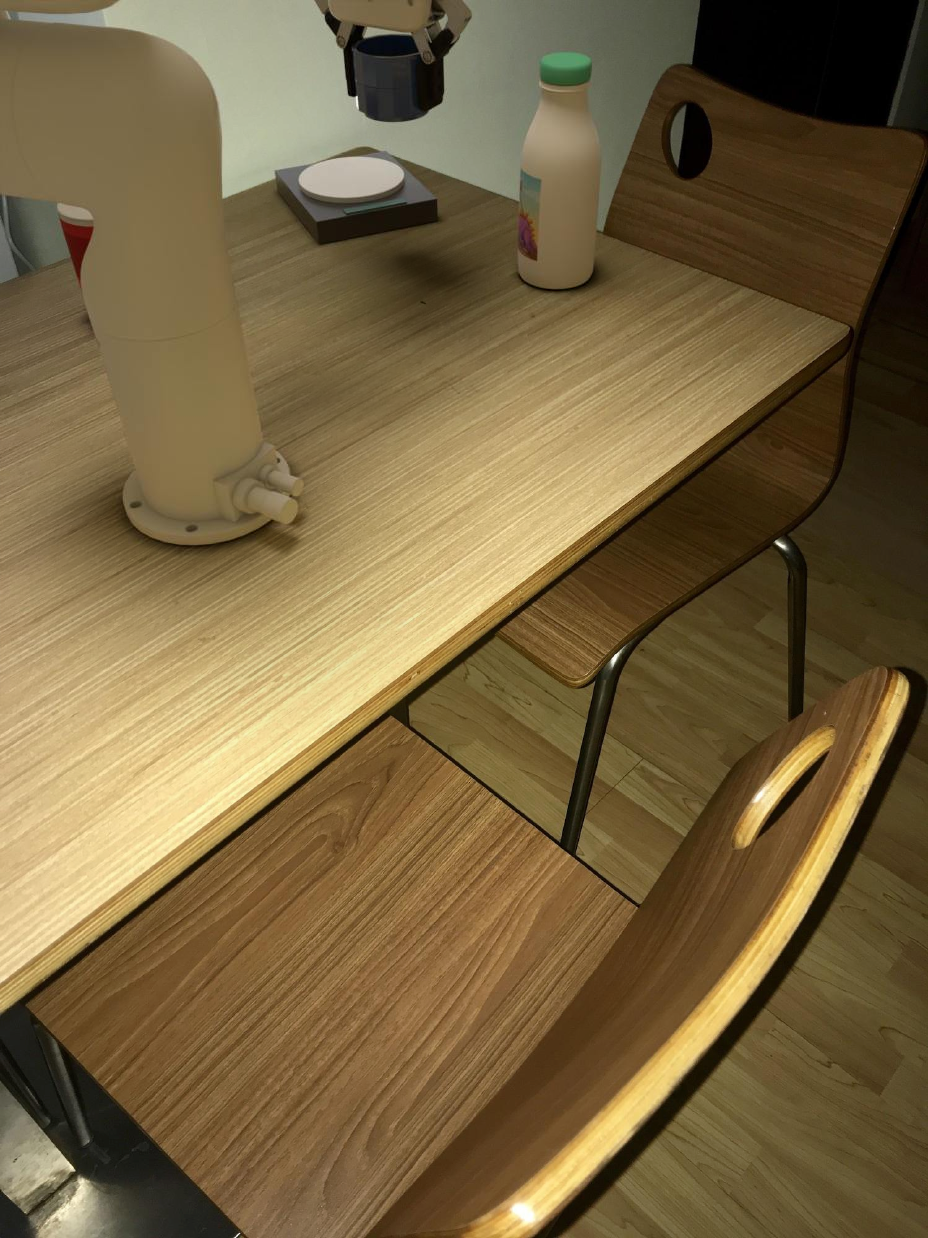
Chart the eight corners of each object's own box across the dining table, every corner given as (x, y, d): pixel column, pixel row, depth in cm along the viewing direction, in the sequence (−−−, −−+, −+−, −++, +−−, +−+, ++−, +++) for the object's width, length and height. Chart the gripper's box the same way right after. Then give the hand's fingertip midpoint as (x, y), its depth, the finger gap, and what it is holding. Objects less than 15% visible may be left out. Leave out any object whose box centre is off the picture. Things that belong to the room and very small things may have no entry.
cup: (449, 105, 94) (447, 40, 90) (406, 129, 90) (402, 61, 86) (386, 93, 97) (382, 29, 93) (342, 115, 92) (335, 49, 88)
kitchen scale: (438, 220, 111) (437, 191, 109) (319, 244, 107) (315, 214, 105) (387, 171, 122) (385, 144, 120) (277, 191, 118) (273, 163, 116)
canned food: (153, 337, 94) (123, 221, 86) (75, 330, 95) (39, 215, 87) (185, 299, 99) (159, 187, 91) (111, 292, 100) (79, 181, 92)
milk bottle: (598, 261, 104) (616, 47, 89) (585, 295, 98) (601, 74, 84) (526, 253, 105) (533, 42, 91) (509, 286, 100) (513, 68, 86)
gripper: (267, -138, 81) (296, 96, 93) (446, -121, 74) (452, 128, 87) (323, -152, 85) (344, 73, 98) (497, -137, 79) (496, 103, 91)
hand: (395, 98), depth 92 cm, fingers closed on cup, 7 cm apart
